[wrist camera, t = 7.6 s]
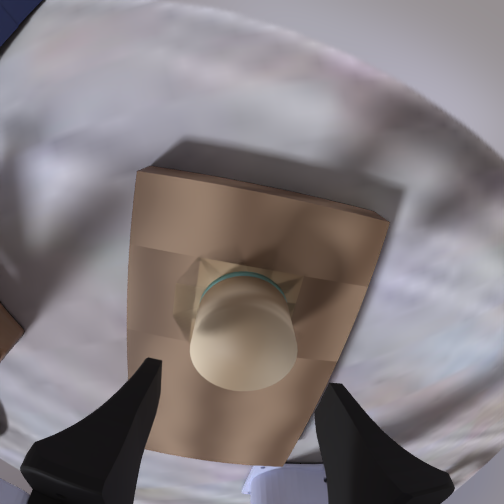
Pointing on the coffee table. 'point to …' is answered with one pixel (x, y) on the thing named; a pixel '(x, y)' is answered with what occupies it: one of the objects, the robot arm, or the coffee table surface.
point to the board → (234, 260)
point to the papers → (13, 15)
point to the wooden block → (8, 332)
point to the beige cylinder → (243, 333)
